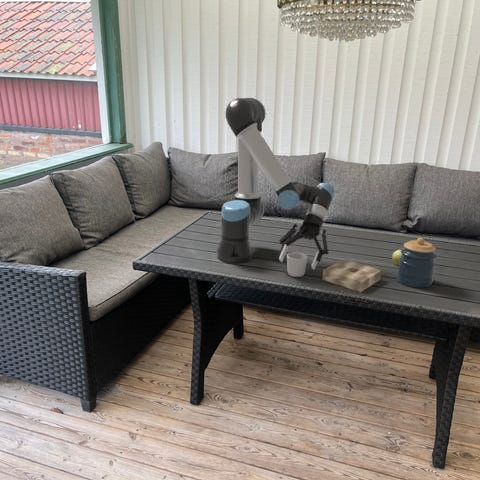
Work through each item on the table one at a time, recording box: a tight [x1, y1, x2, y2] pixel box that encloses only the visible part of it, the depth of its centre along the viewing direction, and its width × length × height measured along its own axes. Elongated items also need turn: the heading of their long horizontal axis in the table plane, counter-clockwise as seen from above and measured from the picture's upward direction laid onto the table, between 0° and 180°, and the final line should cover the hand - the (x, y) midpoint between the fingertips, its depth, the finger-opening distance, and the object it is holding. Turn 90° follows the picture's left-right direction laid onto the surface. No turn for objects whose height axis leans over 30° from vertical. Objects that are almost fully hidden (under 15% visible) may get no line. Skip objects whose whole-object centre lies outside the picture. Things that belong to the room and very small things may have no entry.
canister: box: [396, 237, 438, 289], centre depth 172 cm, size 13×13×18 cm
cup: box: [286, 251, 308, 278], centre depth 177 cm, size 11×8×8 cm
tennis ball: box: [391, 249, 402, 266], centre depth 191 cm, size 6×7×7 cm
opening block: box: [322, 258, 382, 293], centre depth 173 cm, size 16×16×4 cm
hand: (296, 264), depth 175 cm, fingers open, 13 cm apart
